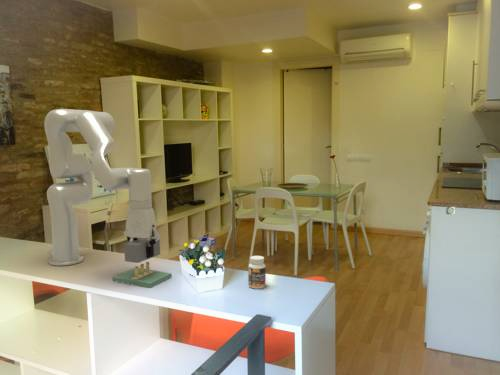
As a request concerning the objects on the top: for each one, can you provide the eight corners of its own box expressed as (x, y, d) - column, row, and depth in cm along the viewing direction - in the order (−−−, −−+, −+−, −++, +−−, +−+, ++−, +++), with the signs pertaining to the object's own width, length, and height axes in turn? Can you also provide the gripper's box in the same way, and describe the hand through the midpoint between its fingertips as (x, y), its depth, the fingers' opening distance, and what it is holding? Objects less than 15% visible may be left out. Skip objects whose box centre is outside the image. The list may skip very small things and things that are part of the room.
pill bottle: (252, 290, 144) (253, 260, 143) (245, 284, 149) (245, 256, 148) (268, 287, 147) (268, 258, 146) (260, 282, 152) (260, 254, 151)
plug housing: (138, 262, 147) (137, 245, 146) (124, 261, 149) (123, 243, 149) (160, 254, 158) (159, 237, 157) (147, 252, 160) (146, 236, 160)
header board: (112, 281, 153) (112, 266, 152) (135, 271, 163) (135, 257, 163) (150, 288, 146) (149, 272, 145) (171, 277, 157) (171, 262, 156)
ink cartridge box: (202, 277, 157) (202, 237, 155) (189, 275, 159) (188, 235, 158) (216, 269, 166) (216, 231, 164) (203, 267, 168) (203, 230, 167)
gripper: (113, 204, 152) (115, 256, 154) (154, 207, 144) (156, 261, 146) (128, 201, 158) (130, 251, 161) (167, 204, 151) (169, 256, 153)
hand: (142, 255), depth 153 cm, fingers closed on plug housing, 5 cm apart
